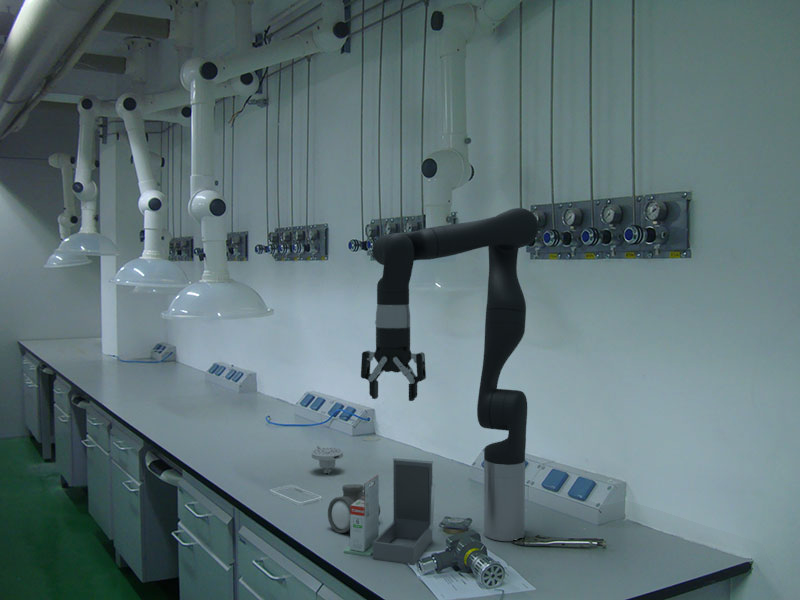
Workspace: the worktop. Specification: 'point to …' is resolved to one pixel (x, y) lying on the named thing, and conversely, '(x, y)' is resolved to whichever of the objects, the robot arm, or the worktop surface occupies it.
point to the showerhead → (327, 457)
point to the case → (409, 512)
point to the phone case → (273, 491)
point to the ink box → (365, 517)
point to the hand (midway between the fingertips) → (393, 399)
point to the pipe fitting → (344, 507)
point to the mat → (365, 553)
